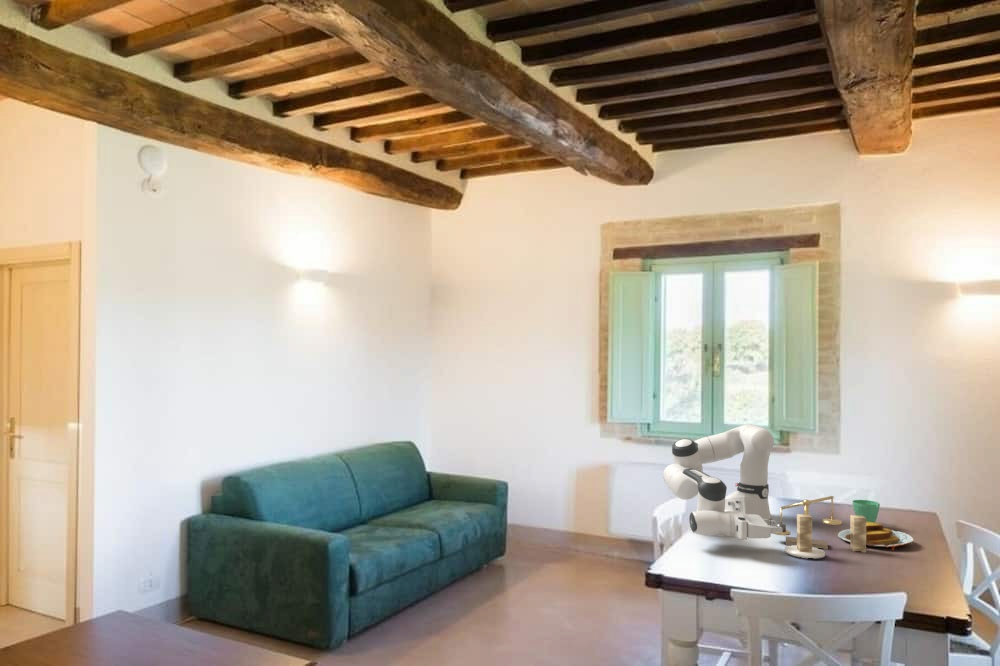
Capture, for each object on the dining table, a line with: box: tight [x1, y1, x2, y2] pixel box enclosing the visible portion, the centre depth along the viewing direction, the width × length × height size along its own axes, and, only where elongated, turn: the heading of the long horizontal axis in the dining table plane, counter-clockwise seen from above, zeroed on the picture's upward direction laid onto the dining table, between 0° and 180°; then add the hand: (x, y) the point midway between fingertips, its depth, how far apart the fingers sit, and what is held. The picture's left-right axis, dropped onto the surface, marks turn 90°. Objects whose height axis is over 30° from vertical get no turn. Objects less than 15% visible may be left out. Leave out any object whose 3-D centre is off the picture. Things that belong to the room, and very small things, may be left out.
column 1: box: [796, 513, 813, 552], centre depth 248 cm, size 4×4×12 cm
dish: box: [784, 545, 826, 559], centre depth 248 cm, size 13×13×2 cm
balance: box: [773, 495, 843, 550], centre depth 261 cm, size 24×7×19 cm, turn 67°
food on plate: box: [837, 522, 915, 551], centre depth 267 cm, size 25×25×7 cm
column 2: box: [849, 514, 867, 553], centre depth 254 cm, size 4×4×12 cm
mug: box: [852, 499, 881, 523], centre depth 292 cm, size 15×10×10 cm
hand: (778, 526), depth 249 cm, fingers open, 8 cm apart
